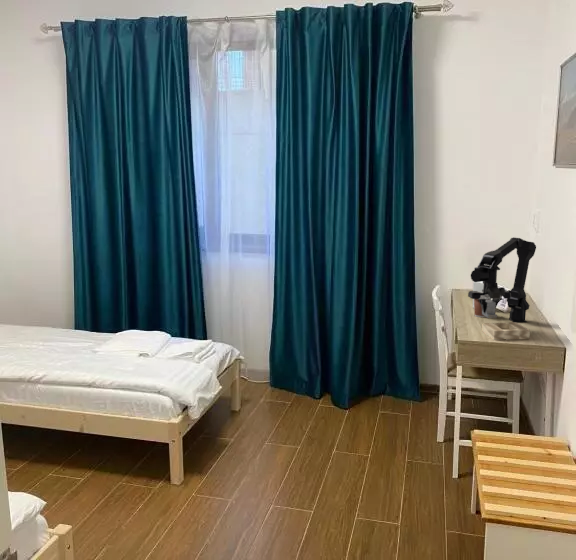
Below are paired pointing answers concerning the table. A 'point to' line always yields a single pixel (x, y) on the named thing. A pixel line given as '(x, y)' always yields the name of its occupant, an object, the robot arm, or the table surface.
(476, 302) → the coffee cup
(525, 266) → the robot arm
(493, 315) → the bracket
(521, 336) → the well block
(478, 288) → the skincare box
